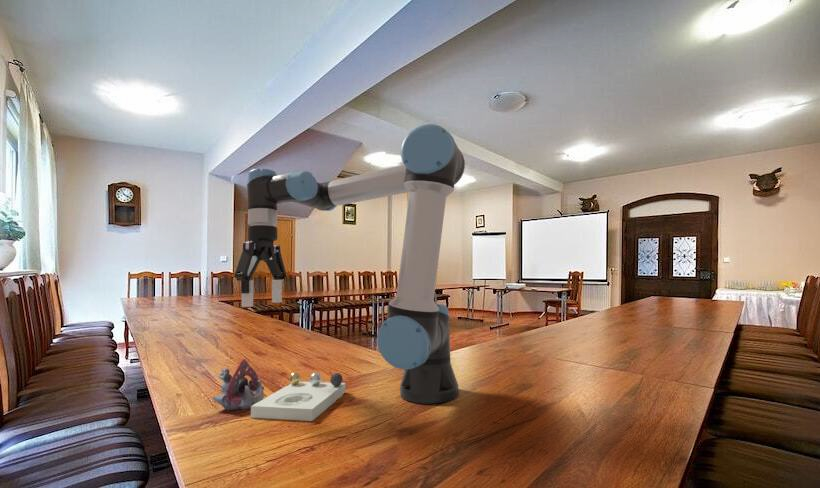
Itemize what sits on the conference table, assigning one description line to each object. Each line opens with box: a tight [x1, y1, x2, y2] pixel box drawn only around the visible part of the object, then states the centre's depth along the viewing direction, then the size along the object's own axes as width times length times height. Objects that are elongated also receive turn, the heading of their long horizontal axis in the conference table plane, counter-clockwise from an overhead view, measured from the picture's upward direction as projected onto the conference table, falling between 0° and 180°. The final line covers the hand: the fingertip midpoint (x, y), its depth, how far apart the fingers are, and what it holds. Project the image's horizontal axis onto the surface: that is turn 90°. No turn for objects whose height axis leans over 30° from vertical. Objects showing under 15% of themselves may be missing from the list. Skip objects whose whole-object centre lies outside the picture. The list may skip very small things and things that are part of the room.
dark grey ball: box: [329, 372, 343, 386], centre depth 94 cm, size 3×3×3 cm
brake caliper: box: [212, 359, 265, 411], centre depth 90 cm, size 11×11×12 cm
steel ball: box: [308, 372, 323, 385], centre depth 96 cm, size 3×3×3 cm
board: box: [250, 381, 347, 422], centre depth 88 cm, size 19×15×2 cm
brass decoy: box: [288, 371, 302, 385], centre depth 97 cm, size 3×3×3 cm
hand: (263, 304), depth 96 cm, fingers open, 13 cm apart
